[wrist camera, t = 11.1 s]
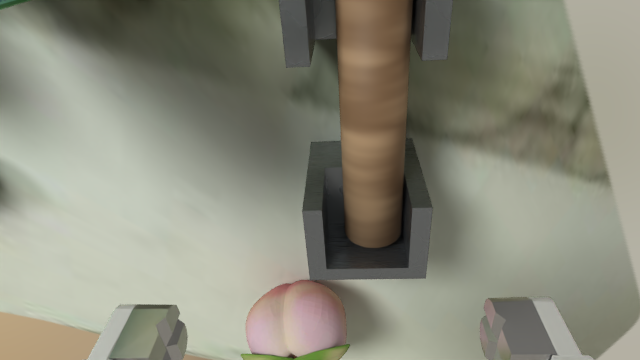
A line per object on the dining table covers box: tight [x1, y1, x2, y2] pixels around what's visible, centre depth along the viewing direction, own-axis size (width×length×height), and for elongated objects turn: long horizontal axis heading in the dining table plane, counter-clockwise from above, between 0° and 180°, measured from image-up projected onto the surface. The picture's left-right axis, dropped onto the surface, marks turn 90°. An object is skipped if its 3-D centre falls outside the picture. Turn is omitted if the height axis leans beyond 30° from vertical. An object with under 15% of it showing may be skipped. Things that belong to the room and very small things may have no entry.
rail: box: [335, 0, 413, 248], centre depth 26 cm, size 17×4×4 cm
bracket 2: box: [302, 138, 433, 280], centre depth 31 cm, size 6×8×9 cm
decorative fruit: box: [241, 280, 350, 360], centre depth 38 cm, size 9×8×10 cm
